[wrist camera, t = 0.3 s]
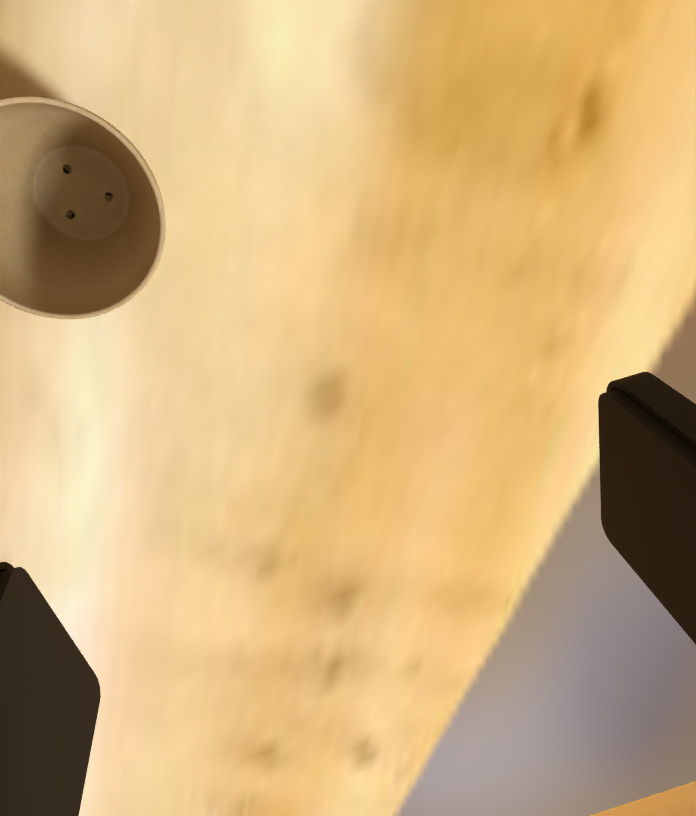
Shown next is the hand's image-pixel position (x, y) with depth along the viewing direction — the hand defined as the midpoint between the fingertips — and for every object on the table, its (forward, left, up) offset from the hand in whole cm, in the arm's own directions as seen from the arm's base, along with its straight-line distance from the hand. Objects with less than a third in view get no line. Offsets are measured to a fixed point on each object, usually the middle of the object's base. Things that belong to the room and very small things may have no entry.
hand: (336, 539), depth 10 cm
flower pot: (-3, -9, -31) cm, 33 cm away
